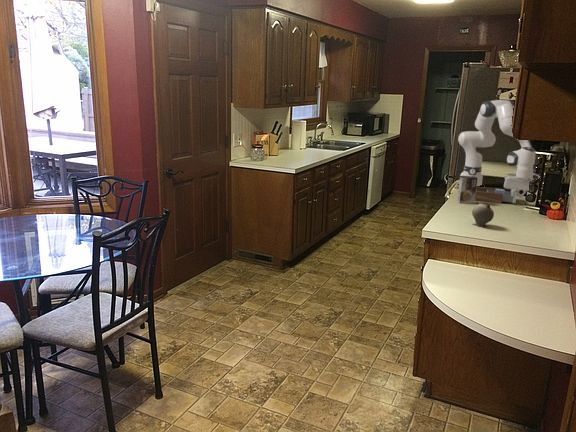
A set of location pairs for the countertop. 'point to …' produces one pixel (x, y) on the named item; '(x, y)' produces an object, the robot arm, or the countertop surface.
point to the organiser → (487, 195)
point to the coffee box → (467, 189)
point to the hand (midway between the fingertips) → (520, 197)
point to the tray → (507, 195)
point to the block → (500, 191)
